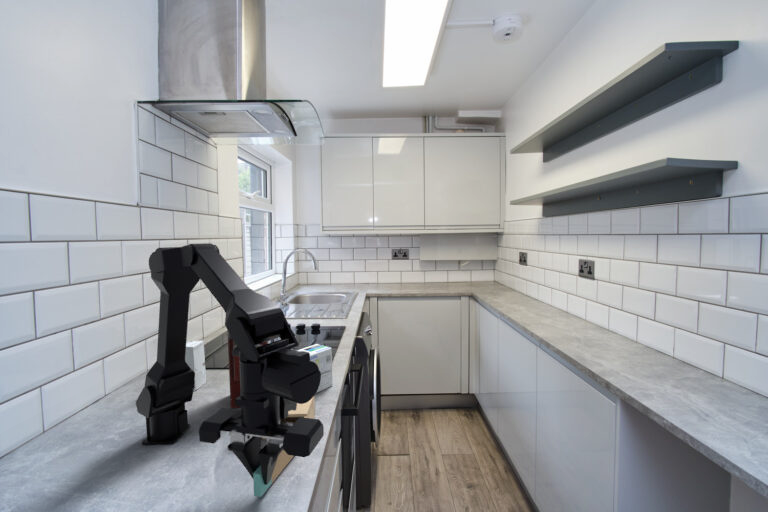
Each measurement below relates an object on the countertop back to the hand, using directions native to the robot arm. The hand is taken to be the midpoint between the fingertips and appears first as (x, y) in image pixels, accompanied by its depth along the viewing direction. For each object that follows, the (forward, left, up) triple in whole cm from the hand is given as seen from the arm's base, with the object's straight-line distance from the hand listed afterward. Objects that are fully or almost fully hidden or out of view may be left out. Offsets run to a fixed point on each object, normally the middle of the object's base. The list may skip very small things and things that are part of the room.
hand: (263, 482), depth 54 cm
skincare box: (-32, +42, -2) cm, 53 cm away
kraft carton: (-2, +20, -2) cm, 20 cm away
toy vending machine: (-13, +33, -2) cm, 35 cm away
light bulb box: (+1, +38, -2) cm, 38 cm away
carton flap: (+2, +6, -2) cm, 7 cm away
